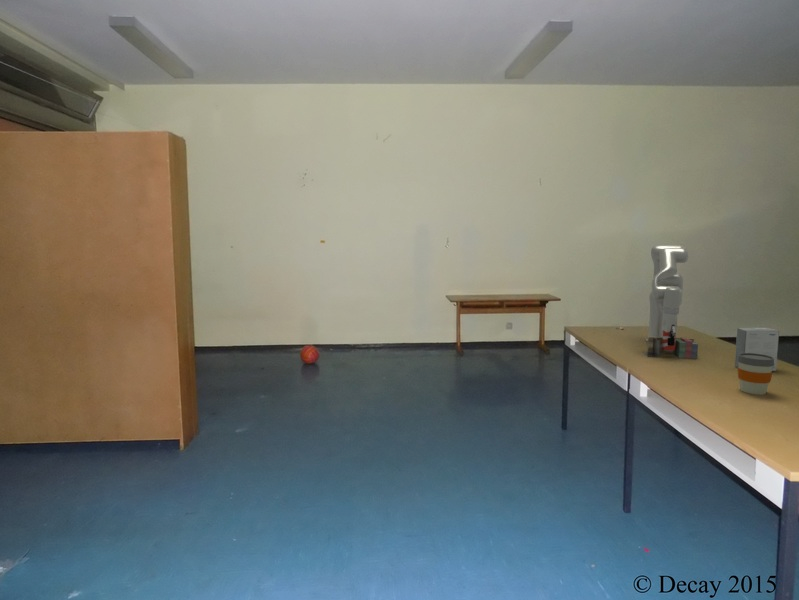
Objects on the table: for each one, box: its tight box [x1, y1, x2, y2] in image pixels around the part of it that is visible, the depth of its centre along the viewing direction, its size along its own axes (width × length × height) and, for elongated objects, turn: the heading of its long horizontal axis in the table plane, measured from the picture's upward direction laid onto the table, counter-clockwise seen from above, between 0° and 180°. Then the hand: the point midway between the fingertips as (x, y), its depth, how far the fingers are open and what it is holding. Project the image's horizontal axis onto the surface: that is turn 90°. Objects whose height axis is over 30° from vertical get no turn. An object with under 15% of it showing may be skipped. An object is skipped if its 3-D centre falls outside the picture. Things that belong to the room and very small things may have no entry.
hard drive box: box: [734, 327, 780, 372], centre depth 245 cm, size 16×8×20 cm, turn 84°
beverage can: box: [662, 330, 677, 351], centre depth 270 cm, size 6×6×12 cm
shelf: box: [646, 336, 699, 360], centre depth 274 cm, size 11×23×10 cm, turn 78°
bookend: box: [642, 337, 660, 358], centre depth 275 cm, size 10×6×9 cm, turn 168°
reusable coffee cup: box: [737, 353, 774, 396], centre depth 210 cm, size 13×13×15 cm
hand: (668, 343), depth 270 cm, fingers closed on beverage can, 6 cm apart
